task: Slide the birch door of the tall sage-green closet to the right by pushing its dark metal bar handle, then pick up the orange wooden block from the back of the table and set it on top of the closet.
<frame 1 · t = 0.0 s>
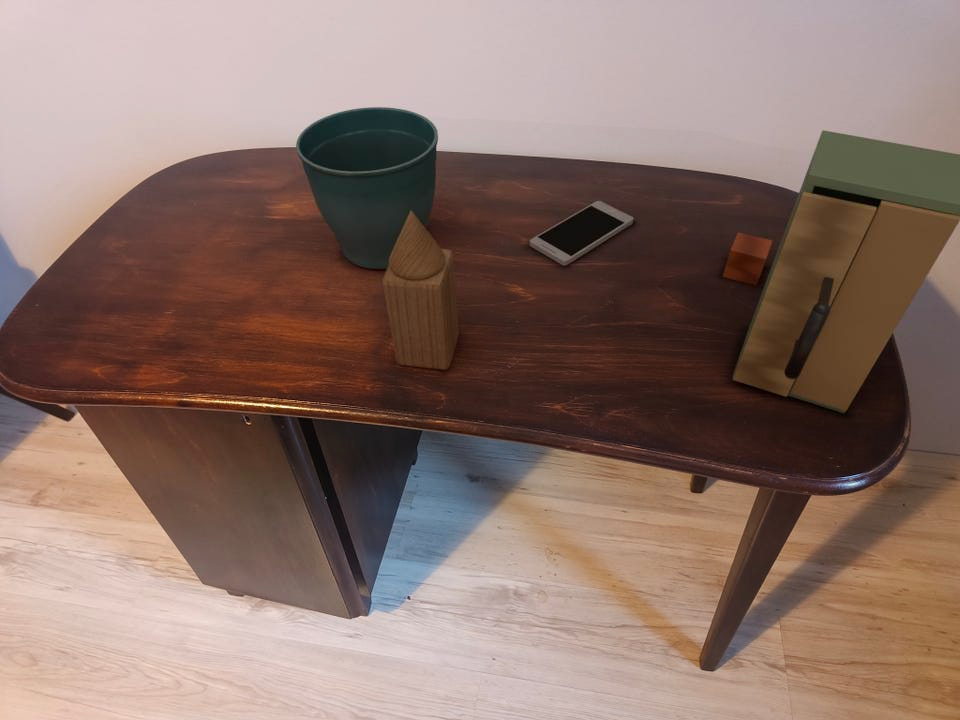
flower pot: (385, 247, 94), on the table
smartphone: (582, 234, 94), on the table
closet: (793, 369, 74), on the table
block: (742, 272, 87), on the table
door: (789, 322, 61), point 13 cm above the table, slide at 0.0 cm
decorative item: (428, 351, 78), on the table
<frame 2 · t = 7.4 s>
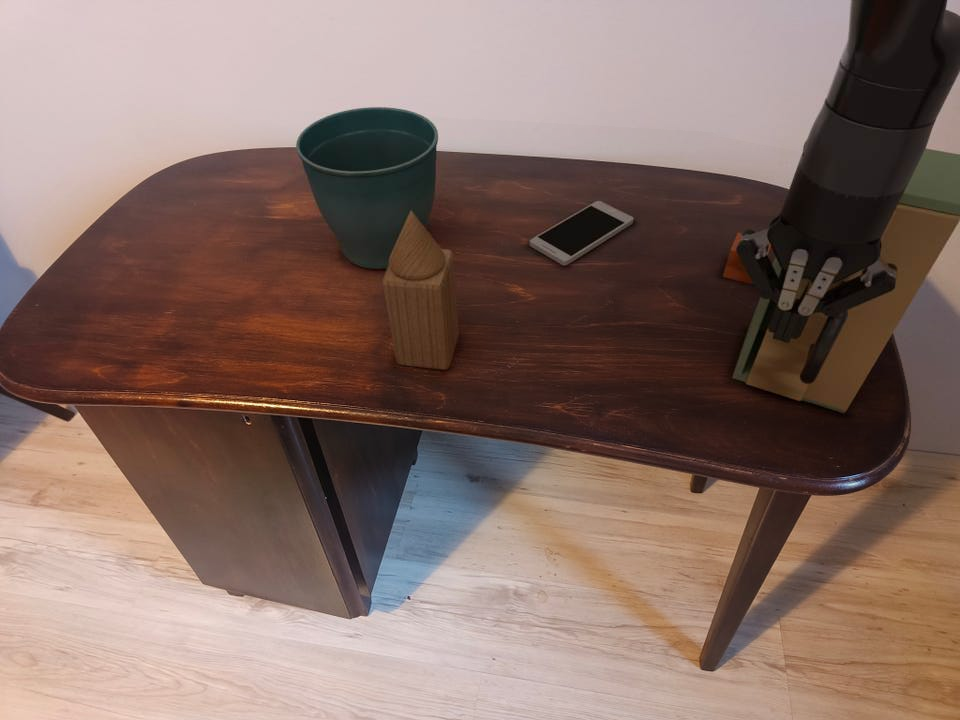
hand: (782, 335, 60), 13 cm above the table, tool pointing down, fingers closed
door: (805, 326, 60), point 13 cm above the table, slide at 1.4 cm, touching gripper
everything else where it was.
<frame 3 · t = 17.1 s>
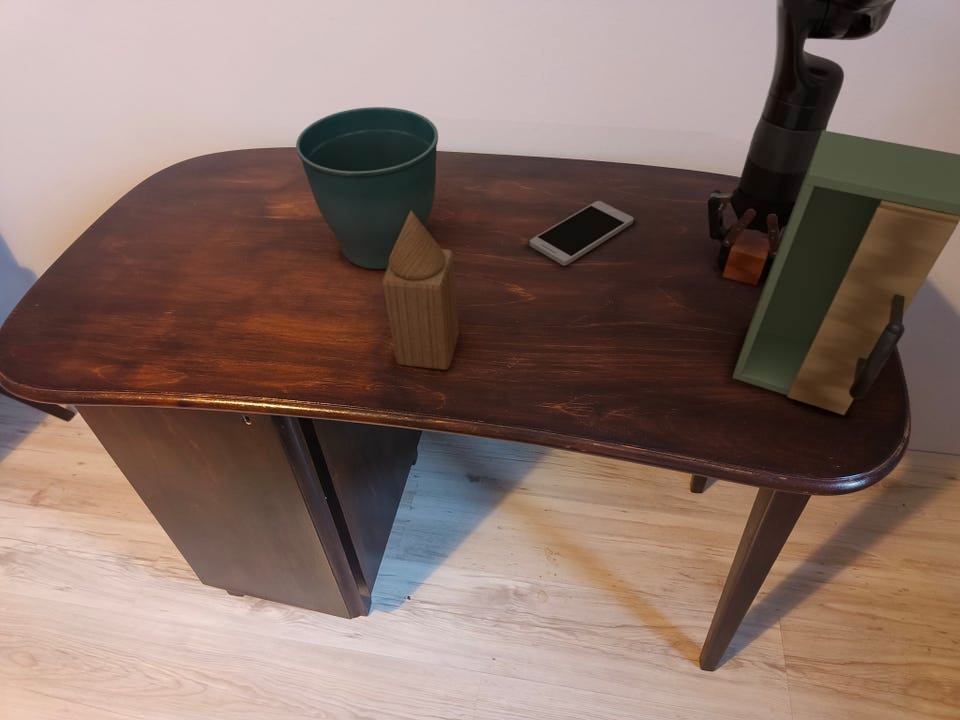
hand: (743, 270, 87), 0 cm above the table, tool pointing down, fingers closed on block, 4 cm apart
block: (742, 272, 87), on the table, touching gripper
door: (855, 340, 59), point 13 cm above the table, slide at 5.8 cm
everything else where it was.
when the fingers open (26 cm above the table, at t = 23.2 s): block stays where it is, resting on closet.
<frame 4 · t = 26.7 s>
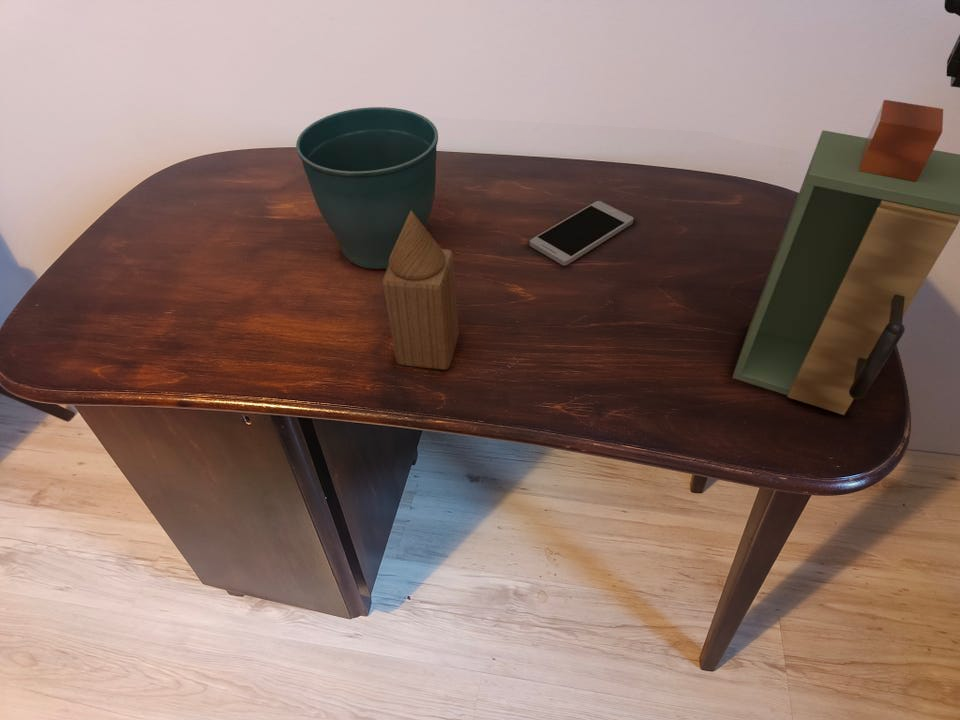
block: (888, 164, 56), point 26 cm above the table, touching closet
everything else where it was.
at the end: door slide at 5.8 cm; block inside the target area on the closet (0.1 cm from its centre), point 26.0 cm above the closet's base; block tilted 0° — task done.
